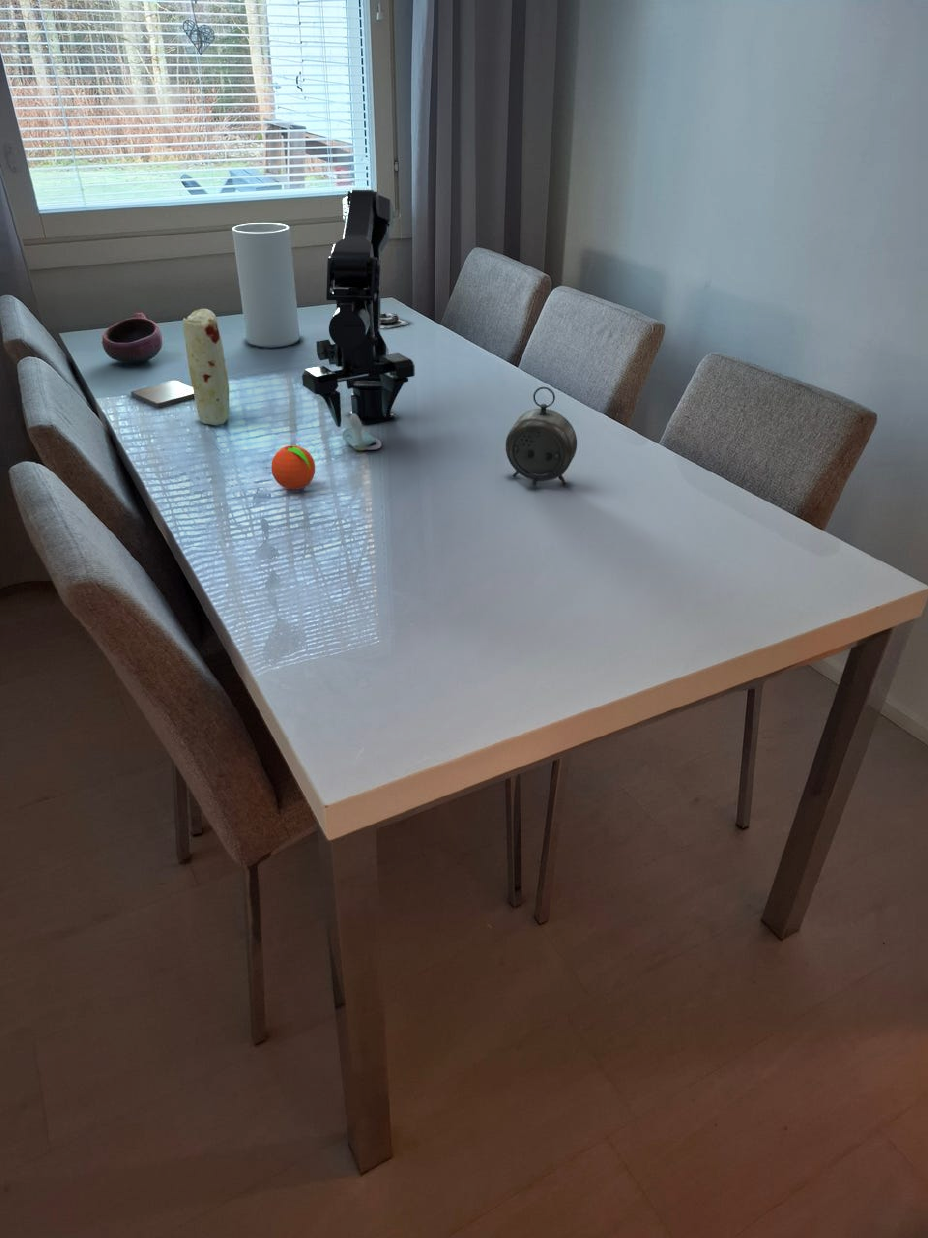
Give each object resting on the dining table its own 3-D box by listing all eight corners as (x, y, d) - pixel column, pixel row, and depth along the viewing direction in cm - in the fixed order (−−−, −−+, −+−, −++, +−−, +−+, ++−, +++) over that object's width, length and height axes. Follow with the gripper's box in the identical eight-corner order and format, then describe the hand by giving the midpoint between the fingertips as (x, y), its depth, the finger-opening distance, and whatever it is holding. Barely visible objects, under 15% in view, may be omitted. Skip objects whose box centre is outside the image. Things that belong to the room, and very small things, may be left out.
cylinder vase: (295, 348, 202) (283, 233, 188) (241, 348, 202) (226, 232, 188) (304, 333, 212) (293, 223, 198) (253, 333, 212) (239, 222, 199)
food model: (236, 427, 161) (220, 317, 150) (199, 431, 159) (181, 320, 148) (231, 409, 169) (216, 303, 158) (196, 412, 167) (178, 305, 156)
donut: (365, 321, 222) (364, 313, 220) (389, 316, 226) (389, 308, 225) (383, 328, 216) (383, 320, 215) (408, 323, 220) (408, 315, 219)
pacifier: (369, 436, 158) (339, 442, 155) (368, 403, 155) (337, 408, 152) (388, 450, 153) (357, 456, 150) (387, 416, 150) (356, 421, 147)
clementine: (330, 489, 139) (326, 447, 135) (295, 503, 135) (291, 460, 131) (299, 474, 144) (295, 434, 140) (264, 487, 140) (259, 446, 136)
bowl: (173, 363, 192) (167, 326, 188) (114, 373, 186) (106, 335, 182) (152, 345, 204) (145, 310, 199) (96, 354, 198) (87, 318, 193)
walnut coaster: (175, 384, 181) (174, 379, 180) (202, 395, 175) (201, 390, 175) (131, 396, 175) (130, 391, 174) (158, 408, 169) (157, 403, 169)
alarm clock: (574, 482, 142) (582, 385, 133) (566, 495, 138) (574, 396, 129) (510, 472, 145) (514, 377, 136) (501, 485, 141) (504, 387, 132)
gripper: (383, 311, 153) (387, 398, 161) (284, 327, 144) (294, 417, 153) (415, 327, 145) (417, 416, 154) (312, 344, 137) (320, 437, 145)
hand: (362, 421), depth 152 cm, fingers open, 9 cm apart
